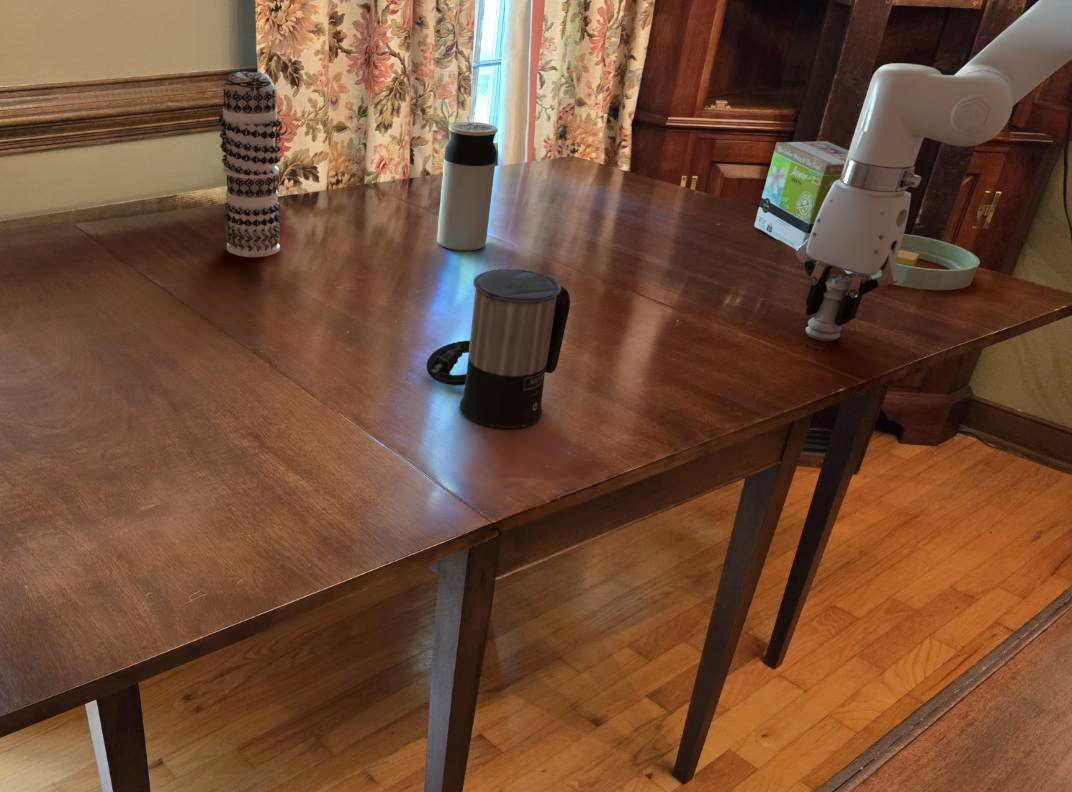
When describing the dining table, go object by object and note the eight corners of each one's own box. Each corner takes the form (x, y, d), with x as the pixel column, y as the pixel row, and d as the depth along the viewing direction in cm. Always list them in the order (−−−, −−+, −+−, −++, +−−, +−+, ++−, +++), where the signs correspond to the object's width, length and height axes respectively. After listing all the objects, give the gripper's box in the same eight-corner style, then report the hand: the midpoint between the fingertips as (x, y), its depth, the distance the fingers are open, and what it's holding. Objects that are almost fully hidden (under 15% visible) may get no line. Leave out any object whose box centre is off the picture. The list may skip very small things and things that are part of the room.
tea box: (750, 228, 170) (774, 139, 162) (801, 226, 172) (827, 139, 164) (798, 255, 158) (827, 162, 150) (852, 254, 160) (884, 161, 152)
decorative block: (910, 279, 149) (919, 253, 146) (904, 286, 146) (914, 260, 144) (882, 273, 150) (891, 247, 148) (876, 279, 148) (885, 254, 145)
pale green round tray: (988, 285, 149) (1000, 256, 147) (934, 309, 140) (946, 279, 137) (875, 253, 161) (885, 226, 158) (818, 272, 151) (827, 244, 149)
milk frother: (525, 438, 103) (546, 305, 94) (392, 404, 108) (401, 275, 100) (563, 388, 113) (585, 265, 105) (440, 359, 119) (451, 240, 110)
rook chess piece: (807, 326, 132) (825, 269, 128) (841, 334, 131) (861, 276, 126) (801, 336, 129) (820, 279, 125) (836, 344, 127) (856, 286, 123)
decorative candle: (260, 262, 146) (256, 82, 132) (212, 250, 150) (203, 74, 136) (294, 246, 152) (294, 74, 138) (247, 235, 156) (242, 66, 142)
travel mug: (488, 252, 154) (502, 133, 143) (438, 251, 153) (449, 131, 143) (482, 237, 160) (495, 122, 150) (435, 235, 160) (445, 120, 150)
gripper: (957, 187, 115) (901, 332, 125) (828, 158, 125) (786, 294, 136) (927, 196, 111) (872, 345, 121) (797, 165, 121) (756, 304, 132)
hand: (827, 316), depth 128 cm, fingers closed on rook chess piece, 3 cm apart
